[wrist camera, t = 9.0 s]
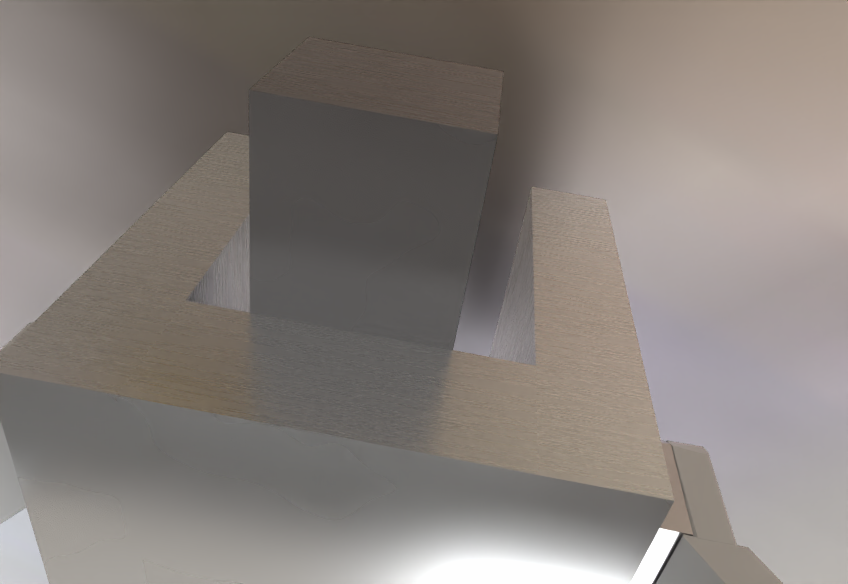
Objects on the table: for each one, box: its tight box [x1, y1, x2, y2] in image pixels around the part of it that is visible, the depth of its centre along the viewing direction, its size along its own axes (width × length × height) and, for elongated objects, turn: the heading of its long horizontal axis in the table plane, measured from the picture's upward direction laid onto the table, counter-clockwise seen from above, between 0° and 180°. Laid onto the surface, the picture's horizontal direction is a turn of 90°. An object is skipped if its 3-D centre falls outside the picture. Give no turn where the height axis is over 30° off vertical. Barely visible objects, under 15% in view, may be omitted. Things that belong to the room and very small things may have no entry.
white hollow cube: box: [0, 132, 674, 584], centre depth 10 cm, size 6×5×6 cm
